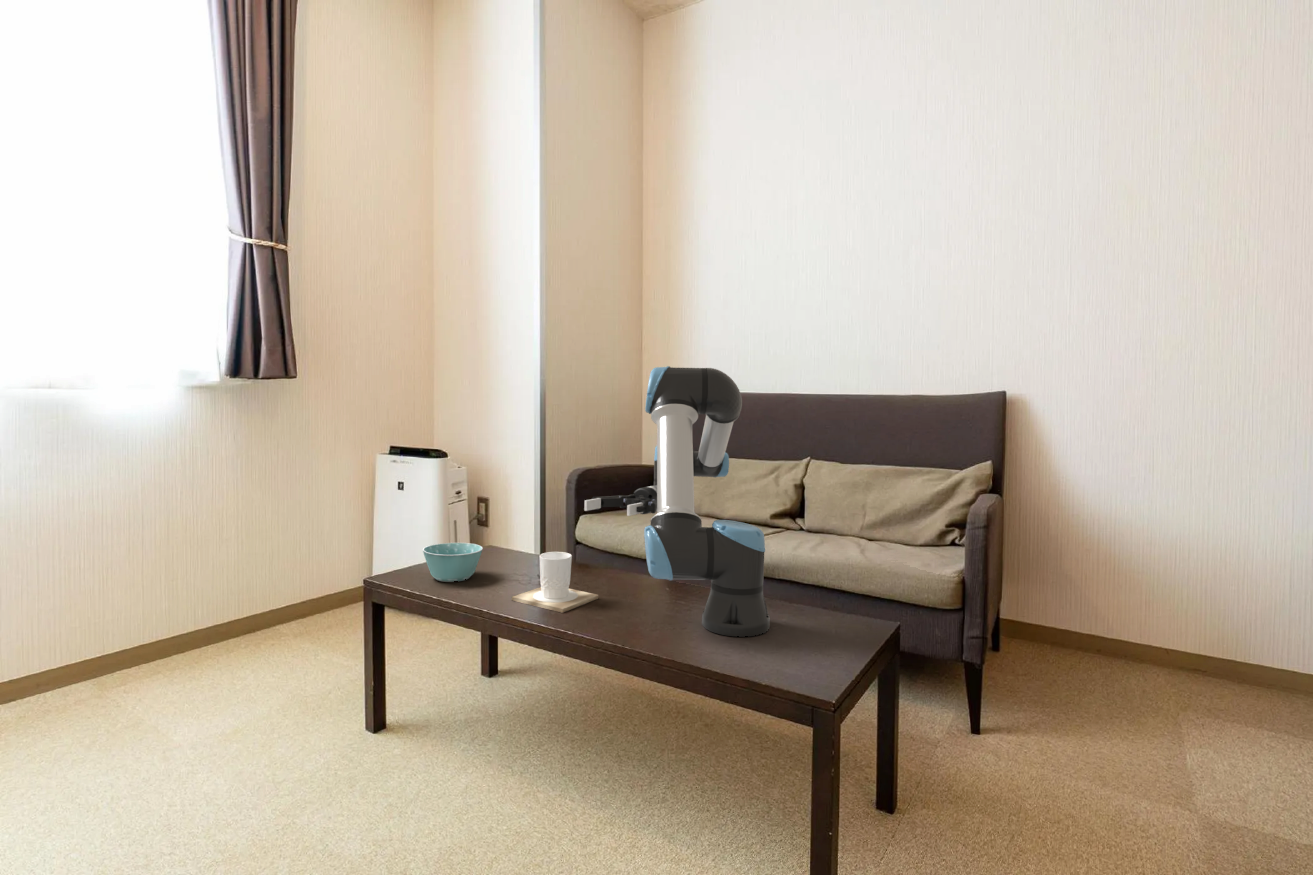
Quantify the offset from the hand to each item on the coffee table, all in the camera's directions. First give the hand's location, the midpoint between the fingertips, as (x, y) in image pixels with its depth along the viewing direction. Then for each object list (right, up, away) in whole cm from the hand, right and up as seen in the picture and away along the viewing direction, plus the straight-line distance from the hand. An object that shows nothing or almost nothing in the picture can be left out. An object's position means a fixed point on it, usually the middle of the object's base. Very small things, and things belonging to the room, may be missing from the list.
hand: (606, 508), depth 186 cm
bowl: (-42, -20, +7) cm, 47 cm away
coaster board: (-12, -22, -10) cm, 27 cm away
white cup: (-12, -21, -10) cm, 26 cm away
